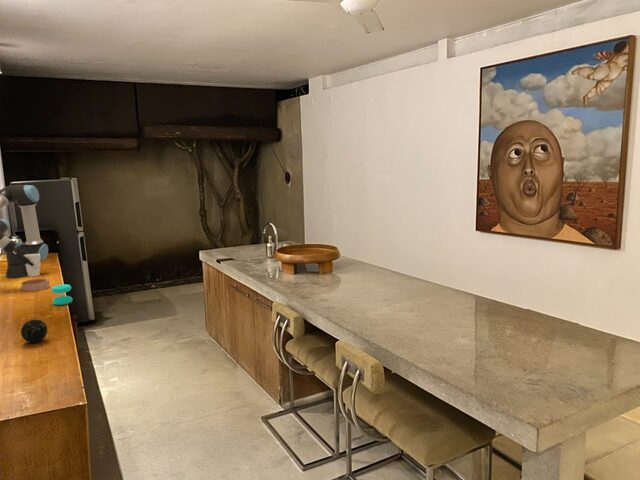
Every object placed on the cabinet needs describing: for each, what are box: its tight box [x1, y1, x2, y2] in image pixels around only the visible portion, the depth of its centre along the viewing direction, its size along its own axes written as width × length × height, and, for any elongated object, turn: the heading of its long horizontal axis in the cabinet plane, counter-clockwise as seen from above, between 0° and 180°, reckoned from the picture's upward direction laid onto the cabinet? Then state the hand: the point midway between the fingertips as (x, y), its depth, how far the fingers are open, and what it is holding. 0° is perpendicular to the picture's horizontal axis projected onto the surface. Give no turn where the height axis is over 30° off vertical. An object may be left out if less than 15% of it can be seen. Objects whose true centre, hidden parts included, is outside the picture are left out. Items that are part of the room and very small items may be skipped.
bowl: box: [21, 278, 50, 292], centre depth 314 cm, size 15×15×4 cm
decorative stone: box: [20, 319, 48, 344], centre depth 216 cm, size 10×10×10 cm
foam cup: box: [24, 254, 41, 277], centre depth 311 cm, size 10×9×13 cm
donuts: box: [50, 284, 74, 306], centre depth 277 cm, size 10×10×10 cm
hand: (38, 267), depth 313 cm, fingers closed on foam cup, 9 cm apart
